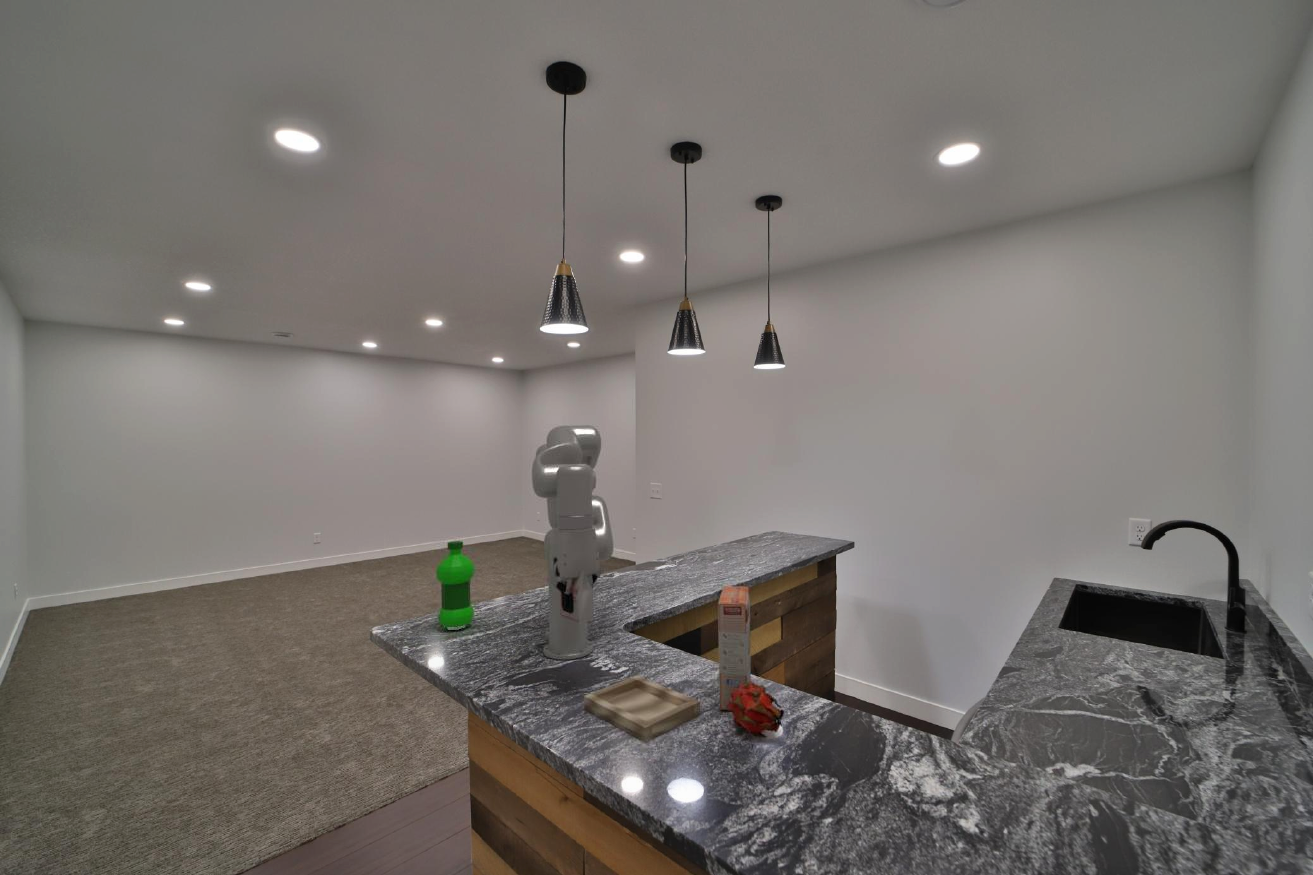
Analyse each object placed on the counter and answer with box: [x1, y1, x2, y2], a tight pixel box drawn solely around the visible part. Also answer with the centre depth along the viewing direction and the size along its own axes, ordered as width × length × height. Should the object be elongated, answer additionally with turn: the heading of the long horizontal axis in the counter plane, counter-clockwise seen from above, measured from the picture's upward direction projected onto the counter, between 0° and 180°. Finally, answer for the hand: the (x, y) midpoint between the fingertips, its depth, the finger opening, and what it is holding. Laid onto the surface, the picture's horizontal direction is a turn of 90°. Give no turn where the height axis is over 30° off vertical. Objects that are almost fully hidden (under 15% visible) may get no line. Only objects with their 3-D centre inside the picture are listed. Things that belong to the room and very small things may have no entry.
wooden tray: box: [583, 675, 701, 743], centre depth 108 cm, size 18×14×2 cm
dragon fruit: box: [726, 680, 785, 739], centre depth 100 cm, size 8×8×12 cm
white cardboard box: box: [560, 571, 594, 622], centre depth 119 cm, size 4×7×10 cm, turn 43°
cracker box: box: [717, 585, 752, 711], centre depth 114 cm, size 14×6×21 cm, turn 168°
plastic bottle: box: [435, 540, 476, 628], centre depth 163 cm, size 10×10×25 cm
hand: (576, 608), depth 119 cm, fingers closed on white cardboard box, 3 cm apart
